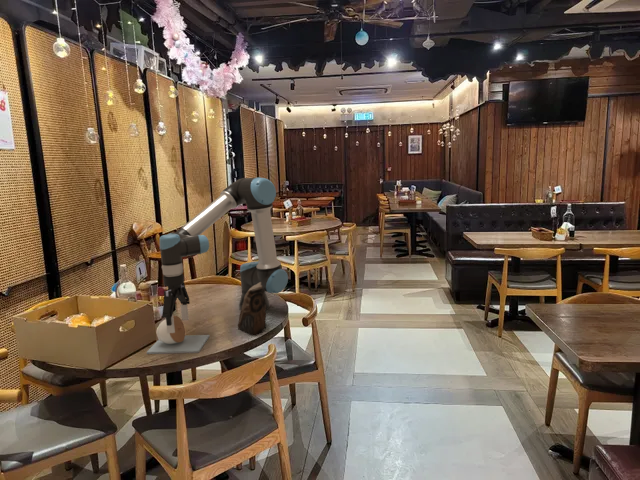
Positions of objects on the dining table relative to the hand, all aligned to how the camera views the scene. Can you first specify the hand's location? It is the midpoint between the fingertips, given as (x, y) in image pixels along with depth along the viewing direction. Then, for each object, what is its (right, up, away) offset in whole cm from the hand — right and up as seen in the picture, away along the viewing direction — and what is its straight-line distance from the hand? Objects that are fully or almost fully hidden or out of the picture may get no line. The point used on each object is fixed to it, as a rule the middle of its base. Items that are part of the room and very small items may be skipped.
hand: (178, 326), depth 175 cm
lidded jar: (-8, -3, +1) cm, 8 cm away
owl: (+27, -5, +16) cm, 32 cm away
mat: (0, -8, +1) cm, 8 cm away
